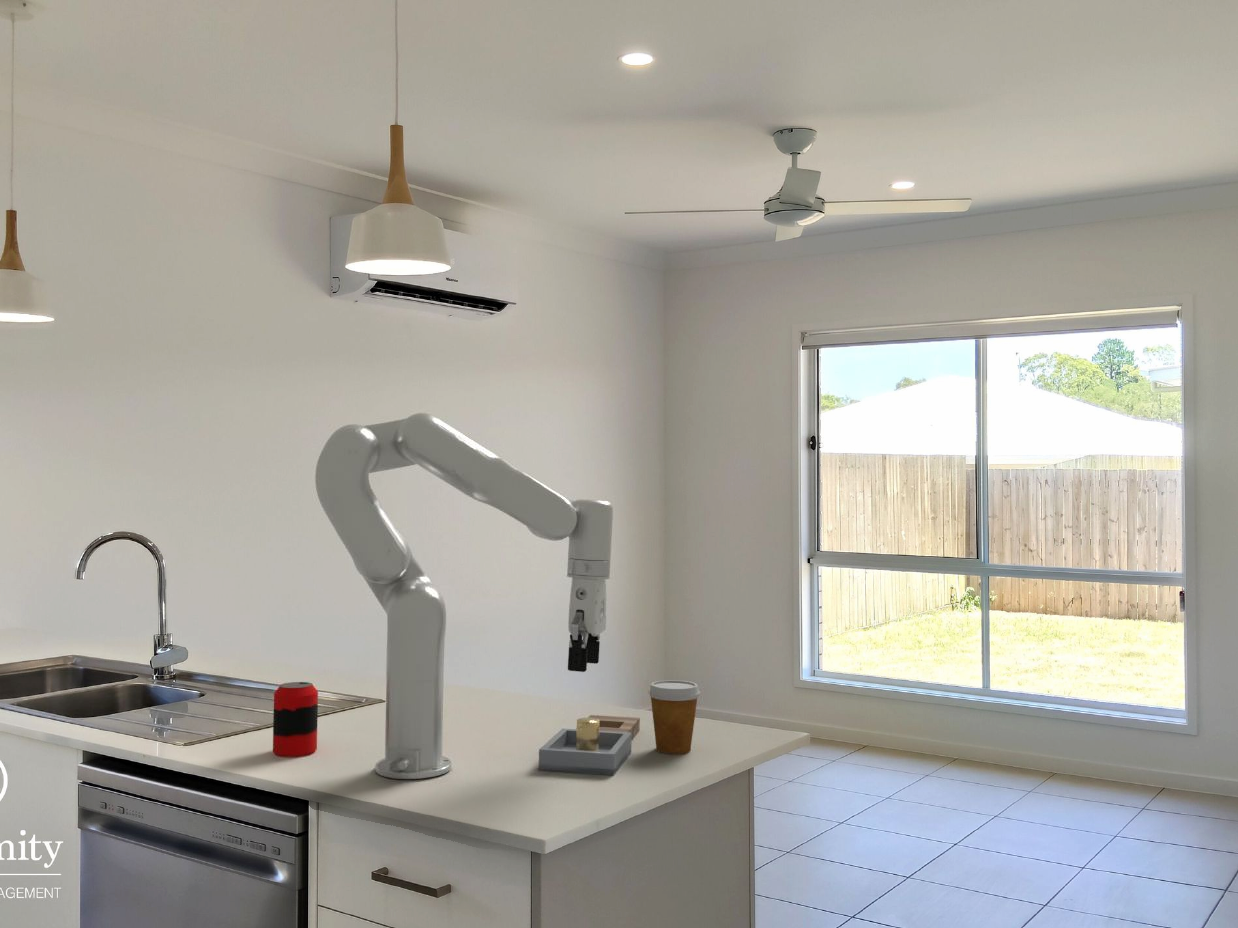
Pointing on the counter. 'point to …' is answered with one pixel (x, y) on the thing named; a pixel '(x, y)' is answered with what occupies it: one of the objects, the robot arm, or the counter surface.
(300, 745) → the soda can
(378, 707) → the counter surface
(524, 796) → the counter surface
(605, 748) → the slate tray
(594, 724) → the pin
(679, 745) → the disposable coffee cup
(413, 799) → the counter surface
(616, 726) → the block
